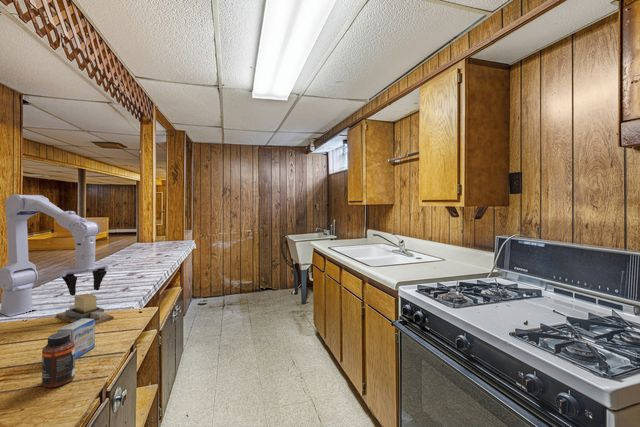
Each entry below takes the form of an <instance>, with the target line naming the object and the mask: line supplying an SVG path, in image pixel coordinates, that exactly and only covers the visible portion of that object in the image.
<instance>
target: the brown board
mask: <svg viewBox="0 0 640 427" xmlns="http://www.w3.org/2000/svg"><path fill="white" fill-rule="evenodd" d="M55 314H56V315H55V316H56V318H59V319H62V320H65V321H67V322H70V323H73V322H75V321H77V320H79V319H95V326H96V325H99V324H102V323H105V322H108V321H112V320H114V319H115V316H114V315H110V314H108V313H105V309H104V308H103V307H98V306H96V311H92V312H89V313H85V314H79V313H76V312H74V304H73V305H70V306H69V307H68V309H66V310H65V311H63V312H58V313H55Z"/></svg>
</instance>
